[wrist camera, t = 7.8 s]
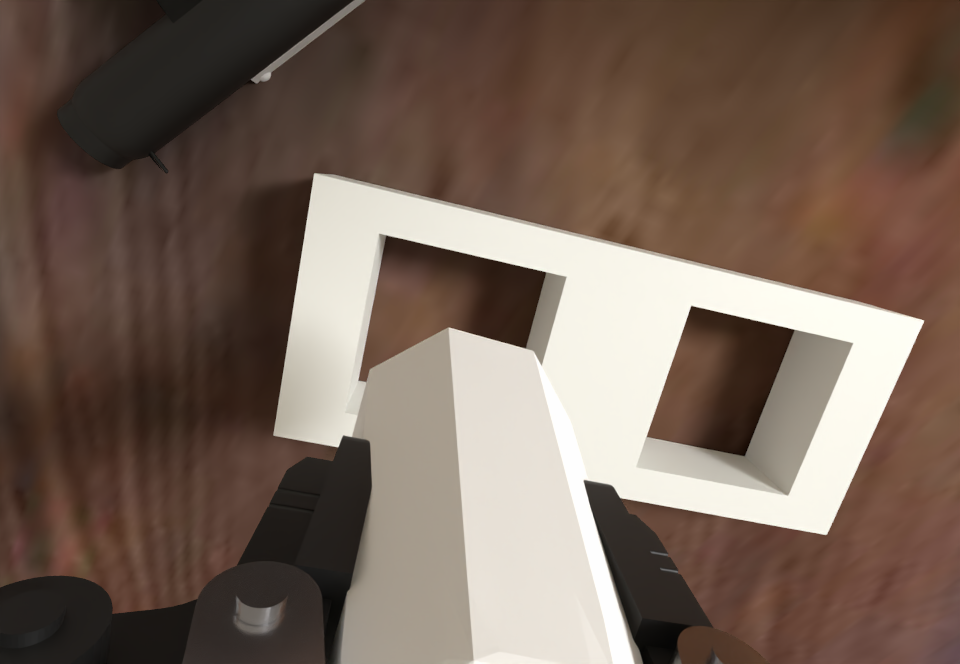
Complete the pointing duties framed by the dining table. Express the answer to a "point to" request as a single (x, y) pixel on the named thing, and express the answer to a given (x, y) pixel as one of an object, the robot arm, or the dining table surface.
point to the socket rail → (608, 353)
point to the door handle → (187, 70)
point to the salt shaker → (476, 519)
